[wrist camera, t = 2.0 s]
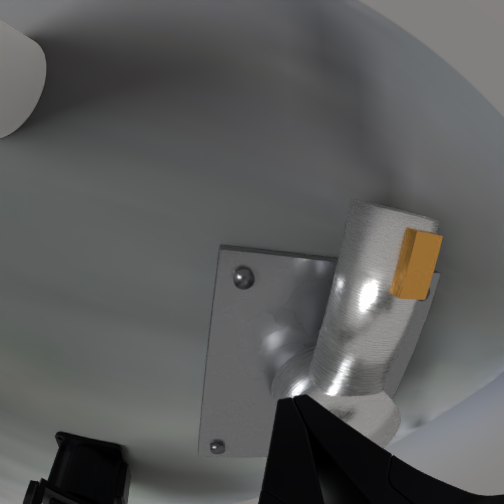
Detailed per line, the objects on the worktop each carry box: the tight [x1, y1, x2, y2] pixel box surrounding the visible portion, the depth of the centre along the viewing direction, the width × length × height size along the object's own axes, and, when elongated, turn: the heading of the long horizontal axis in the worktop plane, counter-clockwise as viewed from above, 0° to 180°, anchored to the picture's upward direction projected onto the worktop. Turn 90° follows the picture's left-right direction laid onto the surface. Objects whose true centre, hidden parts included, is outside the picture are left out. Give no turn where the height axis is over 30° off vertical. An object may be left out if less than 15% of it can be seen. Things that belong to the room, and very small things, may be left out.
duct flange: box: [198, 245, 440, 457], centre depth 21 cm, size 16×18×3 cm
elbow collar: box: [271, 199, 443, 449], centre depth 17 cm, size 16×7×6 cm, turn 171°
